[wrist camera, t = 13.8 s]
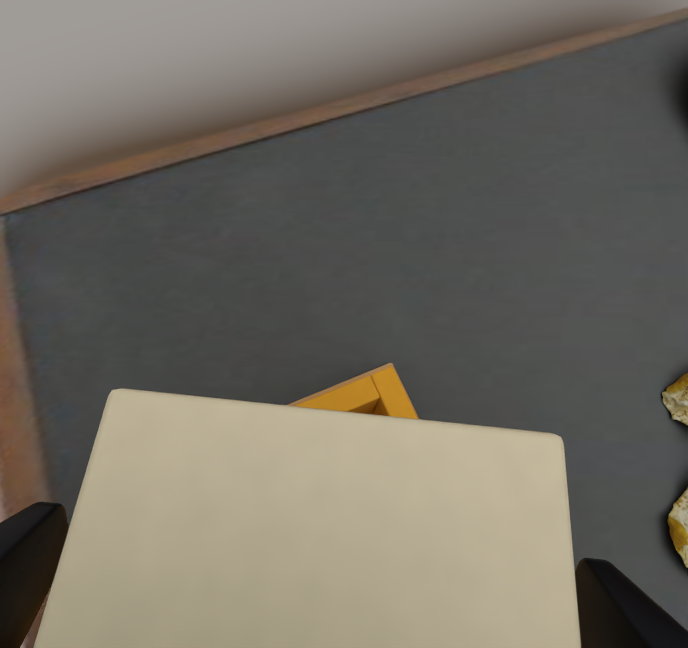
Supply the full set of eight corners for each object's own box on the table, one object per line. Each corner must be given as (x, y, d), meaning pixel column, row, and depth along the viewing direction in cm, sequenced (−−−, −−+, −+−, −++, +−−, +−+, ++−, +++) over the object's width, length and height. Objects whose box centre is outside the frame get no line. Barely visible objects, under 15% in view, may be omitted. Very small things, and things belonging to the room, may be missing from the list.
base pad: (221, 815, 13) (190, 909, 10) (135, 471, 16) (91, 462, 13) (522, 643, 15) (574, 678, 12) (389, 367, 18) (402, 338, 15)
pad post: (384, 644, 14) (634, 1187, 3) (237, 629, 14) (-116, 1117, 3) (392, 487, 16) (566, 432, 4) (261, 474, 16) (107, 384, 4)
